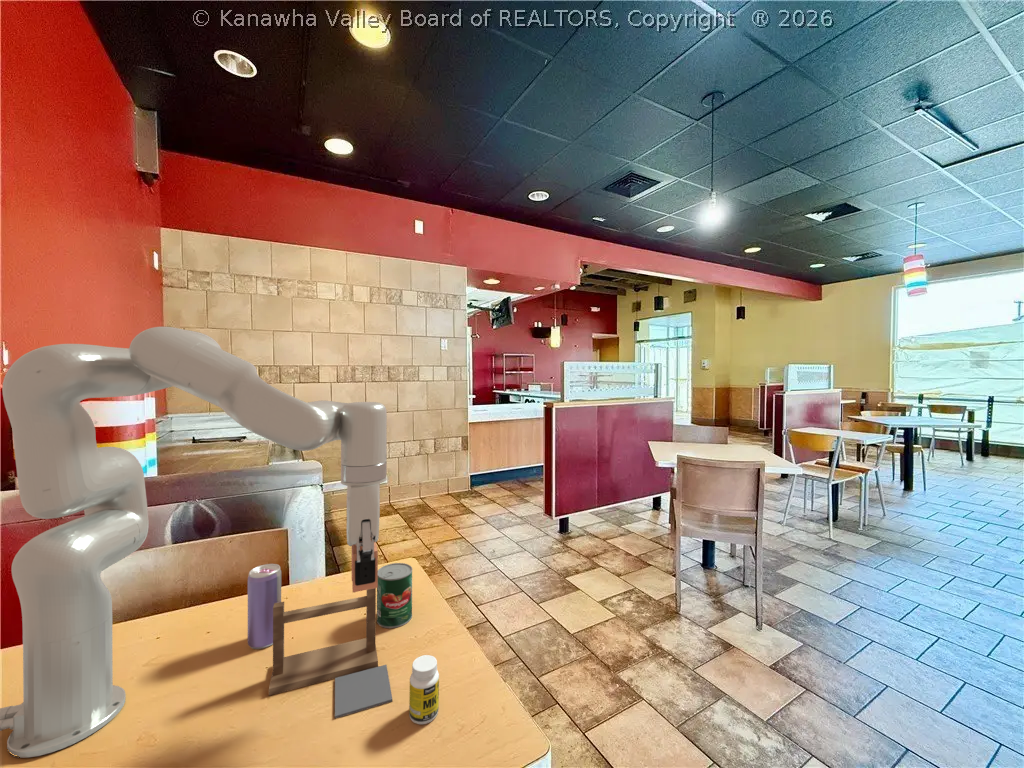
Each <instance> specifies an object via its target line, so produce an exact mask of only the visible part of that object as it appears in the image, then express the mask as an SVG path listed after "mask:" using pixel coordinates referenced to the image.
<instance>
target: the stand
mask: <svg viewBox="0 0 1024 768" xmlns="http://www.w3.org/2000/svg"><path fill="white" fill-rule="evenodd" d="M360 608H361V609H362V608H366V616H365V617H366V618H365V619H366V621H365V622H366V623H365V625H366V629H365V631H366V632H365V633H366V634H365V635H366V637H365V638H361V639H360V638H359V639H355V640H352V641H348V642H344V643H340V644H339V643H337V644H334V645H331V646H330V645H329V646H326V647H322V648H318V649H314V650H309V651H305V652H301V653H296V654H292V655H287V656H285V624H288V623H292V622H293V623H294V622H298V621H304V620H308V619H312V618H313V619H314V618H319V617H324V616H326V615H327V616H328V615H332V614H337V613H338V614H339V613H342V612H347V611H351V610H357V609H360ZM376 622H377V588H373V589H368V590H366V595H364V596H359V597H354V598H350V599H343V600H338V601H333V602H328V603H322V604H317V605H312V606H308V607H302V608H297V609H291V610H287V611H285V601H281V602H279V603H274V606H273V645H272V672H271V677H270V682H269V688H268V696H272V695H276V694H280V693H281V694H282V693H284V692H287V691H288V692H289V691H292V690H293V691H294V690H296V689H300V688H303V687H308V686H311V685H315V684H319V683H322V682H326V681H330V680H335V678H337V677H341V676H345V675H349V674H352V673H356V672H360V671H364V670H367V669H371V668H375V667H379V659H378V652H377V651H378V650H377V644H376V631H377V629H376V626H377V625H376V624H377V623H376Z"/></svg>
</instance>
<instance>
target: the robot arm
mask: <svg viewBox="0 0 1024 768" xmlns="http://www.w3.org/2000/svg"><path fill="white" fill-rule="evenodd" d="M172 387H174V388H176V389H179V390H181V391H183V392H186V393H188V394H190V395H193V396H194V397H197V398H198V399H201V400H203V401H206V402H208V403H210V404H211V405H214V406H216V407H218V408H219V409H222V410H223V412H224V413H225V414H226V415H227V416H229V417H230V418H231V419H233V421H235V422H236V423H237V424H239V425H240V426H241V427H243V428H244V429H246V430H248V431H249V432H250V433H254V434H255V435H258V436H259V437H262V438H264V439H266V440H269V441H271V442H274V443H275V444H278V445H280V446H283V447H285V448H288V449H292V450H294V451H301V452H302V451H303V452H304V451H307V452H308V451H313V450H315V449H318V448H320V447H322V446H323V445H325V444H329V443H331V442H335V441H340V484H341V485H343V486H347V487H346V543H347V545H348V546H349V547H352V545H353V544H356V546H357V561H355V585H356V586H358V585H364V584H369V583H374V582H375V558H374V542H376V543H377V542H378V540H379V538H380V537H379V536H380V518H381V517H380V516H381V515H380V509H381V508H380V507H381V505H380V504H381V501H380V500H381V493H380V492H381V491H380V490H381V489H380V488H381V487H380V486H381V483H385V482H386V481H387V480H388V479H387V476H388V475H387V474H388V473H387V472H388V469H387V467H388V466H387V464H388V463H387V461H388V460H387V456H388V455H387V451H388V450H387V447H388V446H387V441H388V440H387V439H388V438H387V433H388V432H387V428H388V427H387V426H388V425H387V423H388V422H387V421H388V419H387V418H388V415H387V413H388V411H387V408H386V406H385V404H383V403H381V402H377V401H354V402H353V401H352V402H341V401H340V402H339V401H333V400H314V401H310V402H309V401H308V402H306V401H304V400H301V399H300V398H297V397H295V396H292V395H291V394H288V393H286V392H285V391H281V390H280V389H278V388H276V387H274V386H272V385H271V384H269V383H267V382H266V381H264V380H263V378H261V377H260V375H259V374H258V369H257V367H256V366H255V365H254V364H253V363H252V362H250V361H248V360H245V359H242V358H241V357H240V356H239V357H238V356H237V355H234V354H233V353H230V352H228V351H226V350H223V348H222V347H221V345H220V344H219V343H218V342H217V341H216V340H215V339H214V338H213V337H211V336H209V335H207V334H205V333H203V332H198V331H193V330H189V329H182V328H178V327H172V326H154V327H150V328H147V329H145V330H143V331H141V332H139V333H138V334H136V335H135V337H133V339H132V340H131V342H130V345H129V348H125V347H115V346H104V345H96V344H85V343H59V344H51V345H45V346H40V347H38V348H36V349H33V350H30V351H28V352H26V353H24V354H23V355H21V356H20V357H19V358H17V359H16V360H15V361H14V362H13V363H12V365H11V366H10V367H9V368H8V370H7V372H6V373H5V376H4V377H3V382H2V390H1V391H2V397H3V403H4V408H5V410H6V412H7V416H8V419H9V423H10V426H11V428H12V429H11V431H12V436H13V447H14V458H15V467H16V476H17V477H16V478H17V485H18V491H19V499H20V502H21V505H22V508H23V509H24V510H25V512H26V513H27V514H28V515H30V516H31V517H34V518H36V519H37V518H38V519H45V520H51V519H58V518H63V517H67V516H71V515H74V514H76V513H79V512H82V511H84V516H81V517H78V518H75V519H72V520H70V521H68V522H65V523H62V524H59V525H58V526H57V525H56V526H55V527H51V528H50V529H48V530H45V531H43V532H41V533H40V534H38V535H35V536H34V537H32V538H30V540H29V541H27V542H26V543H24V545H22V546H21V548H20V549H19V550H18V552H17V553H15V556H14V558H13V560H12V563H11V576H12V577H11V578H12V581H13V584H14V586H15V588H16V592H17V596H18V598H19V603H20V608H21V609H20V610H21V617H22V618H21V621H22V663H23V664H22V669H23V670H22V671H23V672H22V673H23V674H22V676H23V678H22V680H23V681H22V682H23V683H22V684H23V694H22V695H23V696H22V697H23V702H22V703H20V704H16V705H9V706H5V707H0V732H2V731H3V730H4V731H5V730H7V729H9V730H12V731H11V733H10V734H9V736H8V738H7V741H6V749H8V750H9V752H11V753H12V754H14V755H17V756H19V757H20V758H21V759H22V758H33V757H41V756H44V755H48V754H52V753H54V752H57V751H60V750H62V749H65V748H68V747H70V746H72V745H74V744H76V743H78V742H80V741H82V740H84V739H86V738H88V737H89V736H91V735H93V734H95V733H96V732H97V731H99V730H101V729H102V728H103V727H105V726H106V725H107V724H109V722H110V721H112V720H113V719H114V718H115V717H116V716H117V715H118V714H119V713H120V711H121V710H122V709H123V707H124V705H125V703H126V695H127V694H126V691H125V689H124V688H123V687H122V686H119V685H115V684H113V678H114V677H113V672H114V671H113V599H112V595H111V592H110V590H109V589H108V587H107V585H106V584H105V582H103V580H102V577H101V575H102V574H101V573H102V572H103V571H104V570H106V569H108V568H109V567H112V566H113V565H114V564H115V565H116V564H117V563H118V562H120V561H121V560H123V559H125V558H127V557H129V556H130V555H132V554H133V553H135V552H136V551H137V550H139V548H141V546H143V544H144V542H145V540H146V539H147V537H148V533H149V525H150V523H149V522H150V521H149V511H148V510H149V509H148V499H147V490H146V482H145V474H144V470H143V466H142V464H141V463H140V461H139V459H137V457H136V456H135V455H134V454H133V453H132V452H130V451H128V450H126V449H123V448H121V447H116V446H102V447H98V444H97V440H96V433H97V432H96V426H95V424H94V421H93V419H92V418H91V416H90V414H89V412H87V410H86V409H85V408H84V407H83V406H82V405H81V401H83V400H86V399H97V398H98V399H99V398H101V399H102V398H103V399H104V398H119V397H133V396H139V395H143V394H148V393H152V392H157V391H160V390H164V389H168V388H172ZM360 546H362V550H361V551H360ZM8 750H7V751H8ZM19 757H18V758H19Z"/></svg>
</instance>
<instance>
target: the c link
mask: <svg viewBox="0 0 1024 768" xmlns="http://www.w3.org/2000/svg"><path fill="white" fill-rule="evenodd" d="M361 550H362V546H360V551H361ZM378 552H379V550H378V546H377V542H374V558H375V582H374V583H369V584H364V585H358V586H356V585H355V561H357V546H356V544H353V545H352V546H351V583H352V584H351V585H352V588H351V589H352V593H356V592H362V591H367V590H368V589H373V588H376V589H377V588H378V570H379V560H378V555H379V553H378Z"/></svg>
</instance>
